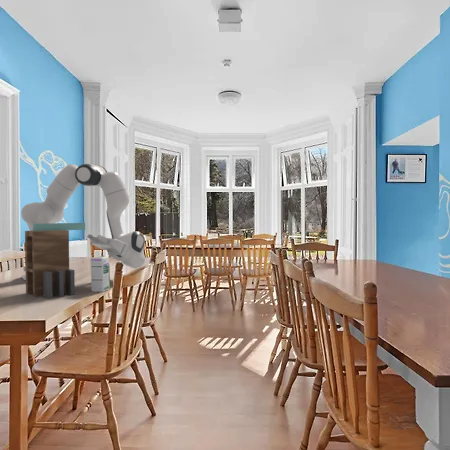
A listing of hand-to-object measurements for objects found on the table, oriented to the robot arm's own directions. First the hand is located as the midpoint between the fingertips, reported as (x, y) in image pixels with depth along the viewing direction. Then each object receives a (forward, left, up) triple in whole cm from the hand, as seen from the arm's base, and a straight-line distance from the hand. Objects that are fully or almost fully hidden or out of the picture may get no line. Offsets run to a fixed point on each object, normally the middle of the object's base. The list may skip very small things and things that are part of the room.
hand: (93, 236), depth 174 cm
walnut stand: (0, -21, -23) cm, 31 cm away
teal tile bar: (0, -15, +3) cm, 15 cm away
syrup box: (+13, -4, -23) cm, 27 cm away
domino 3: (+10, -16, -23) cm, 29 cm away
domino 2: (+10, -20, -23) cm, 32 cm away
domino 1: (+10, -25, -23) cm, 35 cm away
